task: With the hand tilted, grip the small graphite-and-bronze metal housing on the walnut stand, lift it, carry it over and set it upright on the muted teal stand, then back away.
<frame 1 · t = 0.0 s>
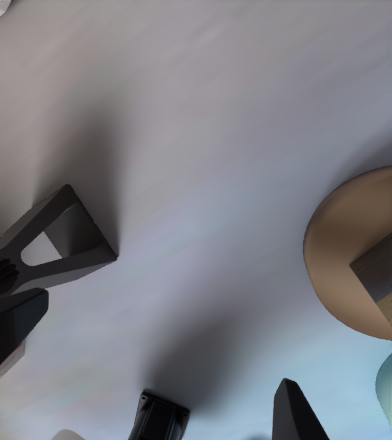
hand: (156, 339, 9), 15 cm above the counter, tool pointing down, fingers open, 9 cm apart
stand a: (390, 247, 20), on the counter
juice carton: (4, 328, 35), on the counter
phone stand: (76, 233, 27), on the counter
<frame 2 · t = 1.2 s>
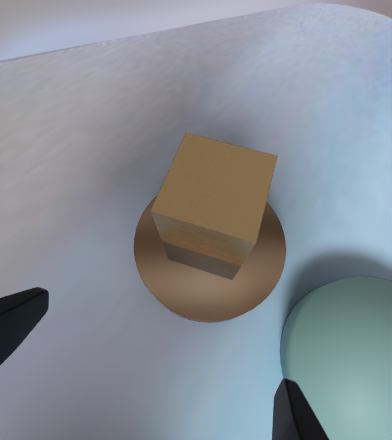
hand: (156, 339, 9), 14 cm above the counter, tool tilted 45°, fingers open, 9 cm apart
stand a: (208, 250, 25), on the counter
housing: (209, 239, 22), point 3 cm above the counter, touching stand a
stand b: (361, 364, 21), on the counter
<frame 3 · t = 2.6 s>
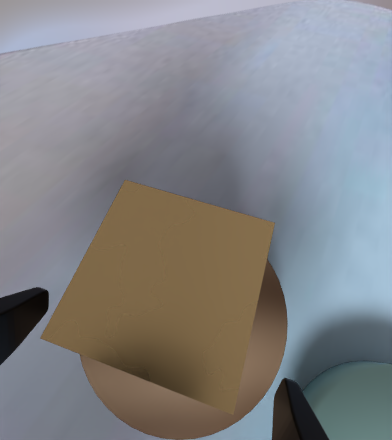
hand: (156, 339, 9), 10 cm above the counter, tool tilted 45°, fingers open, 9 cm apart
stand a: (184, 312, 19), on the counter
housing: (182, 307, 16), point 3 cm above the counter, touching stand a
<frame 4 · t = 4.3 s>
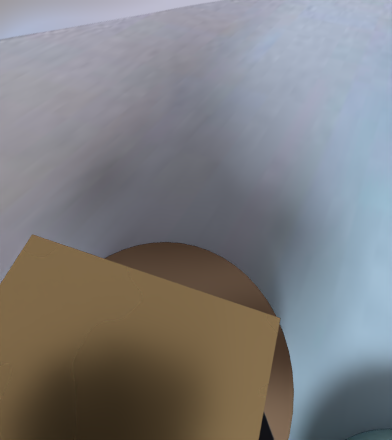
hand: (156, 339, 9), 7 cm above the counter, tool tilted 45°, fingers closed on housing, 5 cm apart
stand a: (165, 362, 15), on the counter
housing: (158, 368, 12), point 3 cm above the counter, touching gripper, stand a
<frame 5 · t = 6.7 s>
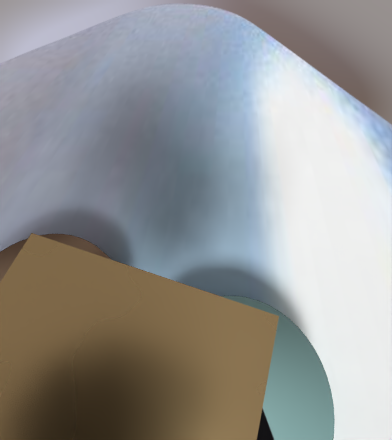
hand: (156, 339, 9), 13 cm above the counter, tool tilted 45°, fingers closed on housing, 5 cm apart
stand a: (56, 316, 22), on the counter
housing: (158, 367, 12), point 9 cm above the counter, touching gripper
stand b: (229, 387, 20), on the counter
when the fingers open (9 cm above the counter, at t = 8.8 s): housing drops 1 cm, resting on stand b.
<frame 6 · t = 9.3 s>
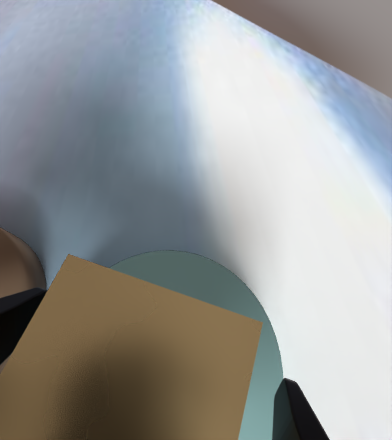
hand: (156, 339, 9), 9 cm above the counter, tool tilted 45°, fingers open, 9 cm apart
housing: (162, 364, 14), point 3 cm above the counter, touching stand b
stand b: (168, 360, 16), on the counter
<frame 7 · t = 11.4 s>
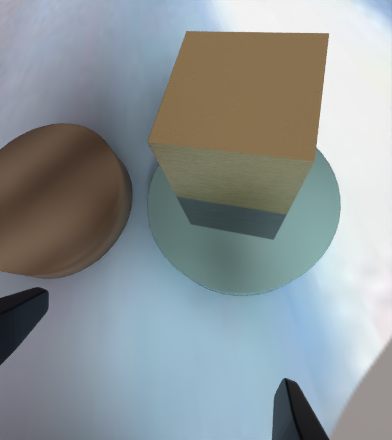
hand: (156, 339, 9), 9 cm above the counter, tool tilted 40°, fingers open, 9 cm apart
stand a: (63, 205, 23), on the counter
housing: (238, 194, 17), point 3 cm above the counter, touching stand b
stand b: (237, 210, 20), on the counter
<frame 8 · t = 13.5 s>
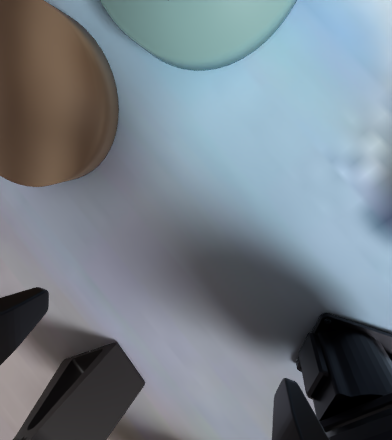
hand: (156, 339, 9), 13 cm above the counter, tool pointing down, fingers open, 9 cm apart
stand a: (47, 102, 21), on the counter
phone stand: (104, 368, 30), on the counter
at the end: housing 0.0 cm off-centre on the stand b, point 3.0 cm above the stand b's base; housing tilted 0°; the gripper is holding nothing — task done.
